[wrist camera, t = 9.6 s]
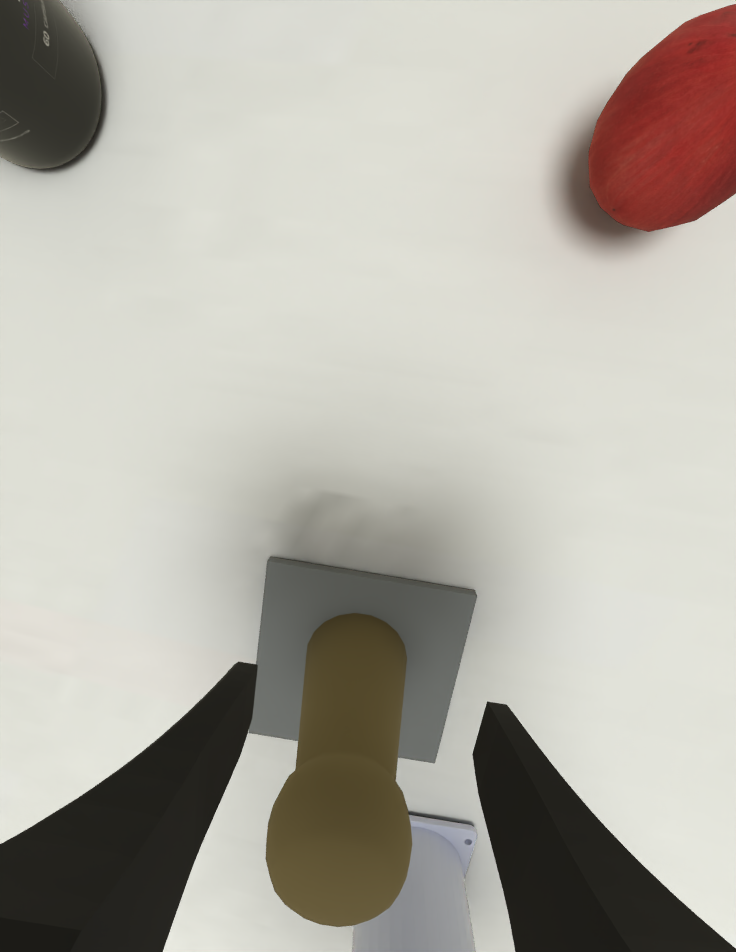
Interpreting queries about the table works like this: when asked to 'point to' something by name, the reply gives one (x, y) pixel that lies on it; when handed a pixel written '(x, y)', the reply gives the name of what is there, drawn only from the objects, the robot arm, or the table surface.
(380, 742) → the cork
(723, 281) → the table surface
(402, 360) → the table surface
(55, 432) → the table surface
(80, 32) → the supplement bottle
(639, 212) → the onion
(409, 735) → the placemat
